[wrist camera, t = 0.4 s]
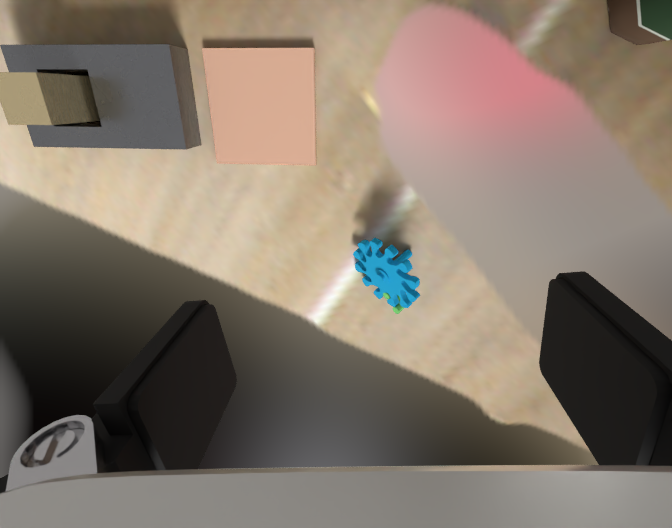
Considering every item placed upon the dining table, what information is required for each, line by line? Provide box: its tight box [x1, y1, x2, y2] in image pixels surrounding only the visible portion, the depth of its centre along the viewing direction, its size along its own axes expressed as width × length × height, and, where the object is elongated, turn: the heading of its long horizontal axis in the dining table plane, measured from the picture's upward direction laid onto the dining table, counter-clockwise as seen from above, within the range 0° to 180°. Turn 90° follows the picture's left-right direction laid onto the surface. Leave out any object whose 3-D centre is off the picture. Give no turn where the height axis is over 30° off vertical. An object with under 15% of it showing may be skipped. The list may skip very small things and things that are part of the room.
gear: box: [353, 238, 420, 314], centre depth 46 cm, size 11×6×10 cm
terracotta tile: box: [202, 48, 317, 165], centre depth 41 cm, size 12×12×1 cm
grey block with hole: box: [0, 44, 201, 149], centre depth 40 cm, size 10×18×4 cm, turn 90°
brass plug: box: [0, 72, 100, 125], centre depth 38 cm, size 4×4×10 cm
